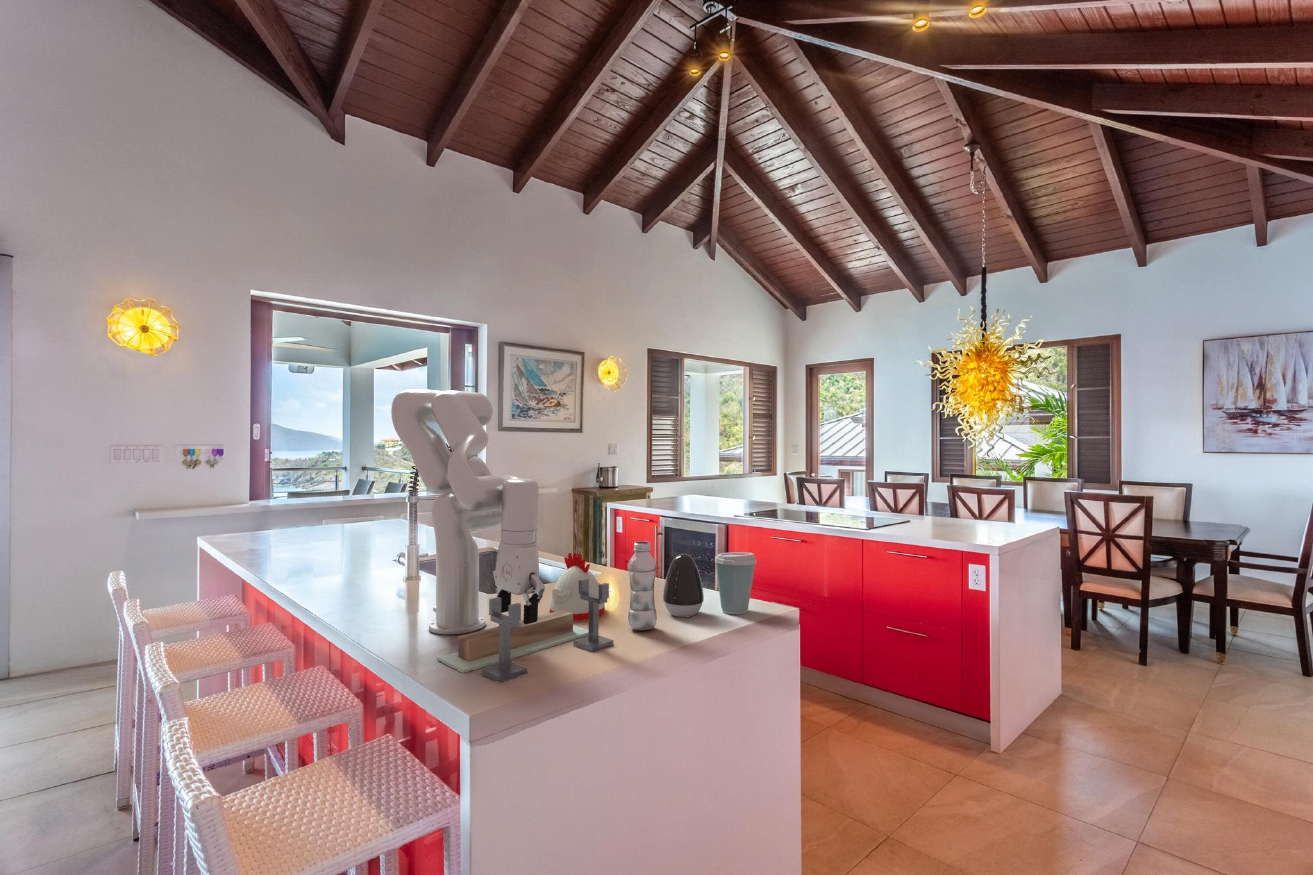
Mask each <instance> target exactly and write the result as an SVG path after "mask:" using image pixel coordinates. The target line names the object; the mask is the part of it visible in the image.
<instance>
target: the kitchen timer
mask: <svg viewBox="0 0 1313 875" xmlns="http://www.w3.org/2000/svg"><path fill="white" fill-rule="evenodd" d="M563 559H564V564H565V566H566V570H565V571H564V572H563V573H562V574H561V575H560V577H558V580H557V581H556V583H555V585H554V588H553V589H552V591H551V597H550V601H549V613H553V612H556V611H560V610H563V611H567V612H570V613H573V621H585V620H589V601H587V600H583V599H580V594H579V580H580V579H585V578H587V579H589V593H592V594H595V595H599V584H601V583H600V582H598V580H597V578H596V576H595V575H594V574H593V572H591V571H590V566H591V564H590V563H589V564H586V562H587V559H586V558H582V553H579V554H577V552H576V553H573V554H572V552H570V553H568V555H567V556H565V557H564V558H563ZM605 604H606V603H603V604H599V617H601V616H603V615H604V614H605V611H606V608H605V607H606V606H605Z"/></svg>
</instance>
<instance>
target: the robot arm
mask: <svg viewBox="0 0 1313 875" xmlns="http://www.w3.org/2000/svg"><path fill="white" fill-rule="evenodd" d="M493 414H494V412H493V405H492V402H491V400H490V399H489V398H488V397H487V395H485V394H483V393H481V392H476V391H475V392H474V391H465V390H461V391H460V390H435V389H434V390H433V389H422V388H420V389H419V388H418V389H417V388H416V389H415V388H413V389H407V390H403V391H400V392H399V393H397V394H396V395H395V396H394V398H393V400H392V403H391V421H392V424H393V427H394V430H395V433H396V434H397V436H398V438H399V439H400V441H401V442H402V444H403V445H404V446H405V448H406V449H407V451H408V452H409V454H410V456H411V458H412V462H413V464H414V465H415V467H416V470H417V472H418V474H419V476H420V478H421V481H422V483H423V485H424V487H425V489H426V490H427V491H428V492H429V493H431V494H433V495H437V496H438V497H436V499H435V500H434V501H433V503H432V505H431V519H432V520H431V521H432V525H433V530H434V538H435V606H434V607H433V608H432V611H433V613H435V619H433V620H432V621H430V622H429V624H428V630H429V632H431V633H434V634H438V635H462V634H463V635H464V634H469V633H474V632H477V631H479V630H480V629H481V630H482V629H483V628H484V627H485V626H486V618H485V617H483V616H481V615H479V614H480V613H479V612H480V611H479V610H480V609H479V603H480V602H479V601H480V600H479V598H480V597H479V596H480V589H479V588H480V581H479V580H480V573H479V572H480V570H479V569H480V562H479V561H480V559H479V558H480V552H479V547H478V544H477V542H476V540H475V539H474V537H473V536H472V533H471V532H473V531H478V530H484V529H485V530H486V529H493V528H495V527H497V526H499V525H500V526H501V527H500V528H501V530H500V541H499V544H498V549H497V554H496V559H495V560H496V561H495V570H493V571H492V575H493V579H494V582H493V583H494V584H493V585H494V586H495V594H496V597H500V598H501V614H504V613H509V605H511V604H512V594H513V595H516V596H521V595H522V597H523V599H524V600H523V601H525V604H523V619H522V620H523V623H524V624H530V623H534V622H537V620H538V616H539V613H538V612H539V604H540V603H541V600H542V598H543V596H544V592H545V589H546V585H545V584H544V583H543V582H542V581H541V579H540V559H539V551H538V522H539V521H538V520H539V516H538V515H539V495H540V494H539V493H540V492H539V490H540V489H539V483H538V482H537V481H536V480H535V479H532V478H520V477H517V476H515V475H508V474H502V475H501V474H500V475H492V473H491V471H490V469H489V467H488V466H487V464H486V463H485V462H484V460H483V459H482V458H480V457H479V456H478V455H479V454H480V453H482V452H483V450H485V449H486V448H487V445H488V443H489V435H488V433H487V432H486V430H485V429H484V426H486V425H488V424H489V423H490V422H491V420H492V417H493ZM428 424H430V425H433V424H434V425H438V427H439V428H440V430H441V432H442V434H443V436H444V438H445V439H446V441H447V443H448V445H449V448H451V451H452V452H451V451H450V449H449V448H448V446H447V444H446V441H445V440H444V438H443V437H442V436H441V435H440V434H439V433H438V432H437V430H436V431H435V429H433V428H432V427H431V426H430V425H428ZM530 594H531V596H530Z"/></svg>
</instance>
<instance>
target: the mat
mask: <svg viewBox="0 0 1313 875" xmlns="http://www.w3.org/2000/svg"><path fill="white" fill-rule="evenodd" d="M587 636H589V629H587V628H584V627H581V626H577V625H575V624H573V631H572V632H569V633H565V634H562V635H558V636H555V637H552V638H548V639H545V640H541V641H538V642H535V643H531V644H528V645H524V646H521V647H518V648H514V649H511V650H510V660H512V659H515V658H518V657H521V656H526V655H528V654H532V653H534V652H538V651H541V650H544V649H546V648H550V647H555V646H557V645H560V644H564V643H567V642H570V641H574V640H578V639H581V638H584V637H587ZM437 660H438V662H439V661H441V662H442V664H443V663H444V664H443V665H445V664H446V666H447V665H449V666H450V667H449V666H448V667H449V668H451V667H453V668H454V670H455V669H457V670H456V671H458V670H459V671H458V672H460V673H462V672H463V673H462V674H466V673H469V671H470V672H472V671H471V670H473V671H475V669H476V670H479V669H484V668H487V667H490V666H493V665H497V664H499V653H497V654H494V655H490V656H487V657H484V658H480V659H477V660H473V661H470V662H468V661H466V660H464V659H462V658H460V657H458V651H456V652H451V653H448V654H445V655H441V656H437V657H436V661H437ZM441 662H440V663H441ZM453 668H452V669H453ZM465 672H466V673H465Z"/></svg>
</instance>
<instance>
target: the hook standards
mask: <svg viewBox="0 0 1313 875" xmlns="http://www.w3.org/2000/svg"><path fill="white" fill-rule="evenodd" d="M579 594H580V599H583V600H587V601H589V619H588V630H589V635H587V636H584V637H580V638H577V639H574V640H573V643H572V644H573V646H574V647H577V648H580V649H582V650H585V651H588V652H591V653H594V652H597V651H600V650H602V649H606V648H608V647H612V646H614V644H615V643H614V639H610V638H608V637H605V636H602V635H599V634H600V633H599V628H600V627H599V625H600V624H599V619H600V618H599V617H600V616H599V604H603V603H605V604H606V603H608V599H609V598H610V583H609V582H604V583H600V584H599V595H595V594H592V593H589V579H587V578H585V579H580V580H579ZM488 615H489V616H490V622H493V623H496V624H498V626H499V663H496V664H492V665H489V666H486V667H483V668H481V675H482V676H483V677H486V678H488V679H490V680H492V681H495V682H496V681H497V682H496V683H498V684H501V683H505V682H507V681H510V680H513V679H516V678H519V677H520V678H521V677H523V676H525V675H528V672H529V671H528V669H529V668H528V667H525V666H523V665H521V664H518V663H516V662H513V661H511V659H510V632H511V627H515V626H519V621H521V620H522V603H519V602H518V603H517V602H516V603H511V605H509V611H508V615H506V614H504V613H501V598H500V597H497V596H496V597H493V598H489V599H488ZM504 681H505V682H504Z"/></svg>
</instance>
